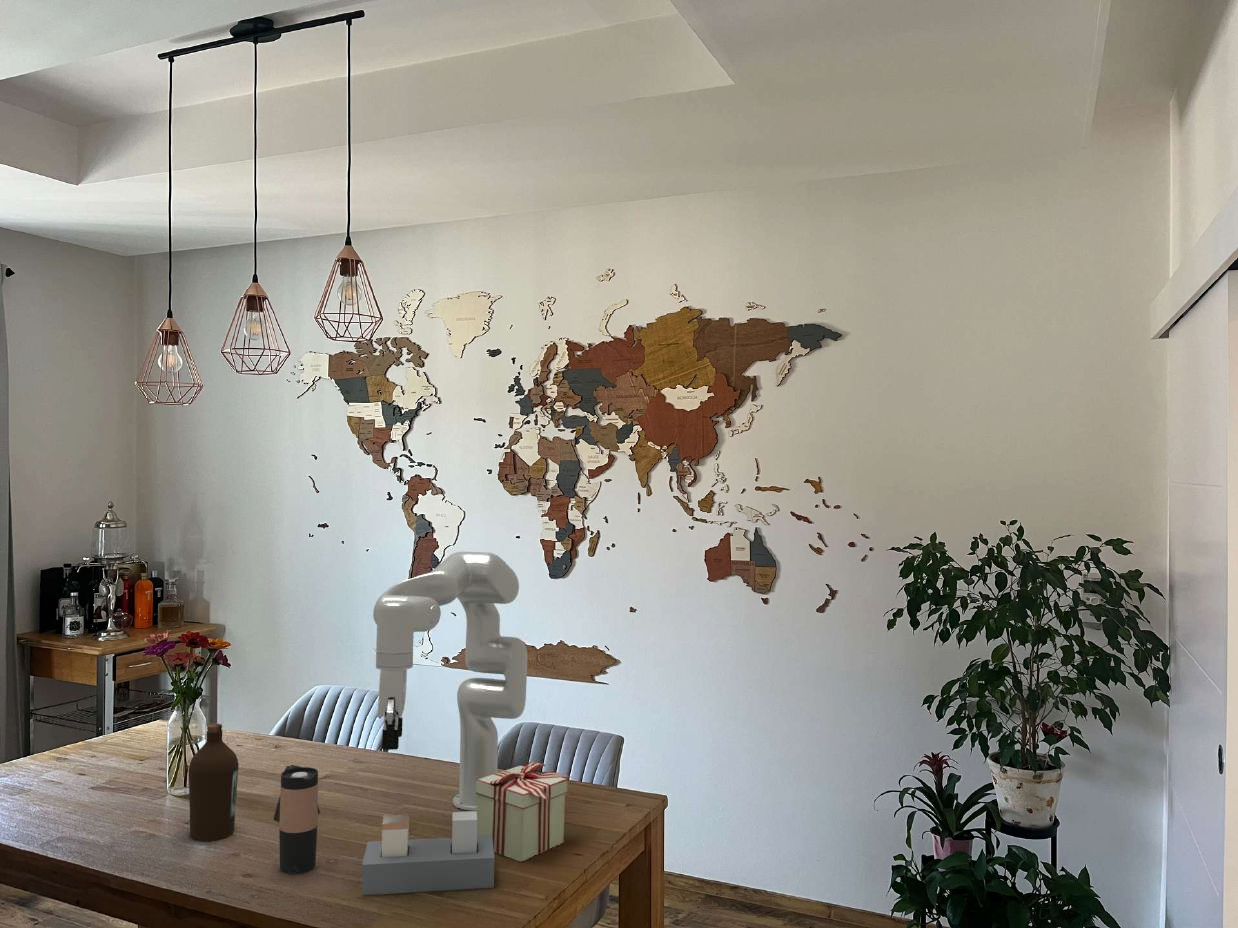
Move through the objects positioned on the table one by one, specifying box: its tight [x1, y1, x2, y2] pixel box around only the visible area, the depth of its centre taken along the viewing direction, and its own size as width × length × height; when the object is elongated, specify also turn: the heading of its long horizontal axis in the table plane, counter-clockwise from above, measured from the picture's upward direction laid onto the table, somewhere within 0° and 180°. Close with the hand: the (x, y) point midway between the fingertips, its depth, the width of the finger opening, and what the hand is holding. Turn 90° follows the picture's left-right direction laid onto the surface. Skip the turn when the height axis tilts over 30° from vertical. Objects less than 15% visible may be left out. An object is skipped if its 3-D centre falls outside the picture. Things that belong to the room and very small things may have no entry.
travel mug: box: [278, 766, 319, 875], centre depth 199 cm, size 8×8×20 cm
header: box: [361, 810, 495, 896], centre depth 194 cm, size 26×12×13 cm, turn 100°
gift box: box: [476, 761, 571, 863], centre depth 213 cm, size 17×18×17 cm
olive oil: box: [187, 723, 240, 842], centre depth 217 cm, size 11×11×25 cm
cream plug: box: [381, 813, 410, 857], centre depth 193 cm, size 5×5×12 cm
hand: (392, 742), depth 196 cm, fingers open, 9 cm apart
